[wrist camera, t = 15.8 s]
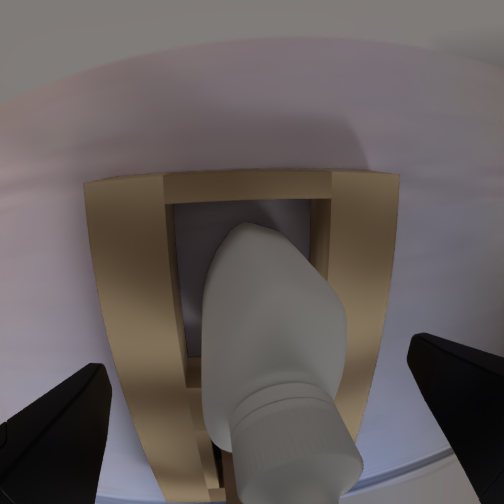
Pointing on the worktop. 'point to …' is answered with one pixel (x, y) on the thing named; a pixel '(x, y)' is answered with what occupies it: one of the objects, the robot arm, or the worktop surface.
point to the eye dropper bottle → (275, 371)
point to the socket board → (170, 309)
